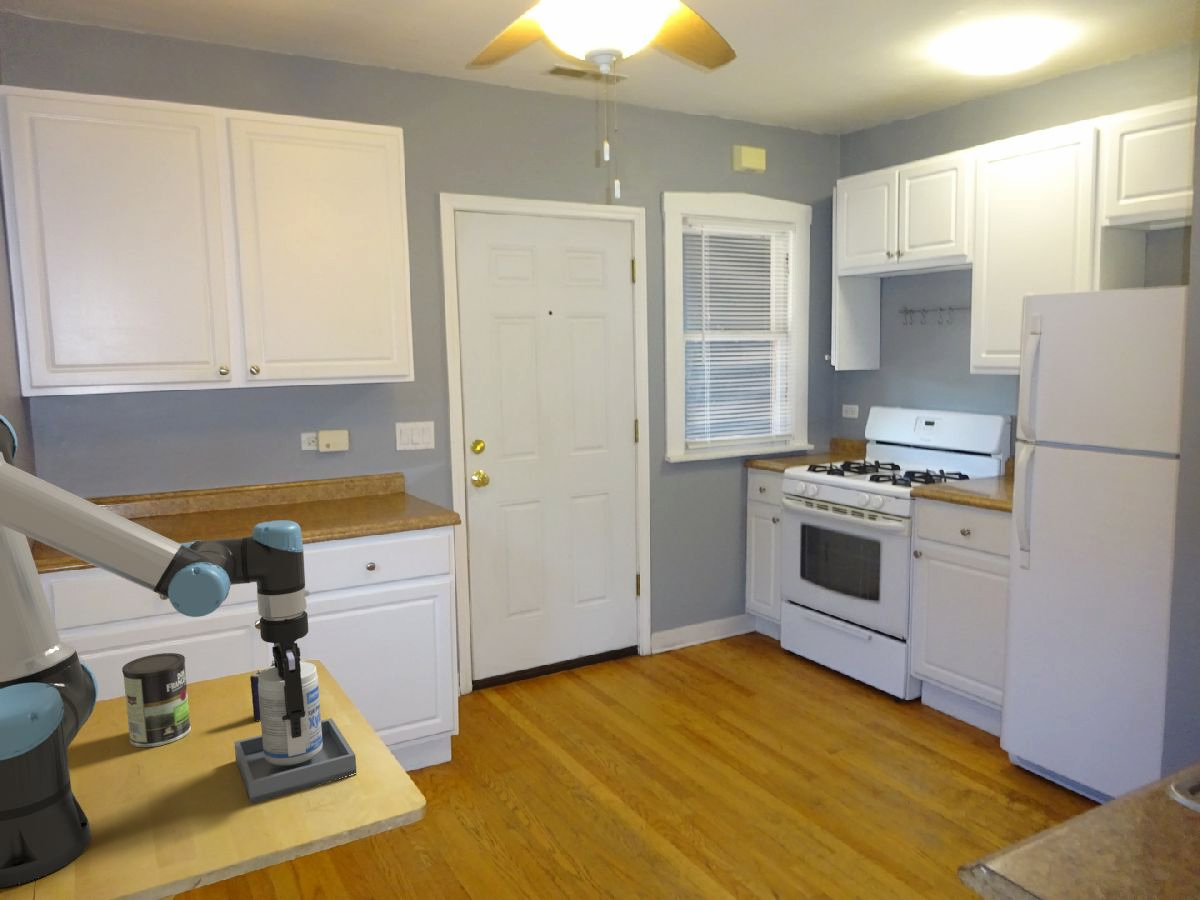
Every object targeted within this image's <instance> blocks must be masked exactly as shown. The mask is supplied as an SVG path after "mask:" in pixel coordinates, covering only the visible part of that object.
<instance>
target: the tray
mask: <svg viewBox="0 0 1200 900" xmlns="http://www.w3.org/2000/svg"><path fill="white" fill-rule="evenodd" d="M321 728H322V743H323V745H322V749H321V751H320V752H319V753H318V754H317V755H316V756H315V757H313V758H311V759H309V760H307V761H305V762H302V763H298V764H293V765H283V766H281V765H274V764H271V763H269V762H268V761H267V760H266V759H265V758H264V752H263V740H262V734H260V735H256V736H253V737H247V738H244V739H240V740H235V741H234V753H235V762H236V766H237V768H238V771H239V774H240V778H241V780H242V783H243V786H244V788H245V789H244V790H245V791H246V795H247V798H248V800H249V801H248V802H249V804H250V805H252V804H256V803H260V802H264V801H267V800H270V799H275V798H278V797H281V796H285V795H289V794H292V793H295V792H299V791H303V790H307V789H309V788H313V787H318V786H320V785H319V784H321V785H324V784H323V783H325V784H327V783H326V782H328V783H330V782H329V781H332V782H334V781H333V780H335V779H339V778H342V777H345V776H349V775H351V774H354V773H357V761H356V759H357V758H356V757H357V756H356V753H355V751H354V750H353V749H352V747H351V745H350V744H349V743H348V741H347V740H346V738H345V737H344V734H343V733H342V732H341V730H340V729H339V727H338V726H337V724H336V722H335V721H334V719H333V718H332V717H330V718H327V719H323V720H322V719H321ZM339 780H340V779H339ZM335 781H336V780H335ZM317 785H318V786H317Z"/></svg>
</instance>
